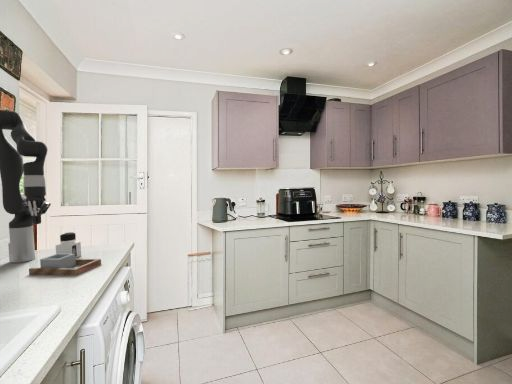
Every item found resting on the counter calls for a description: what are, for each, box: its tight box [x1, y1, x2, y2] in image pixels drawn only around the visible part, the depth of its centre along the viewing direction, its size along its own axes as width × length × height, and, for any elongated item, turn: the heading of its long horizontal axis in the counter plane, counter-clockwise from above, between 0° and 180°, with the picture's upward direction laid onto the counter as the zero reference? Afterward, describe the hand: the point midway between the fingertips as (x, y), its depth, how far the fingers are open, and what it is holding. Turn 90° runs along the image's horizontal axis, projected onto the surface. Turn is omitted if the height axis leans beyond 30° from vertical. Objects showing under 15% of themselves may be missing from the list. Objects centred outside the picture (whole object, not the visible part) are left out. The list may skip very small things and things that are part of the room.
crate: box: [39, 253, 77, 268], centre depth 120 cm, size 9×9×6 cm
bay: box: [28, 258, 102, 276], centre depth 120 cm, size 22×15×2 cm
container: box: [55, 231, 82, 259], centre depth 138 cm, size 8×8×13 cm
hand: (37, 223), depth 121 cm, fingers closed
